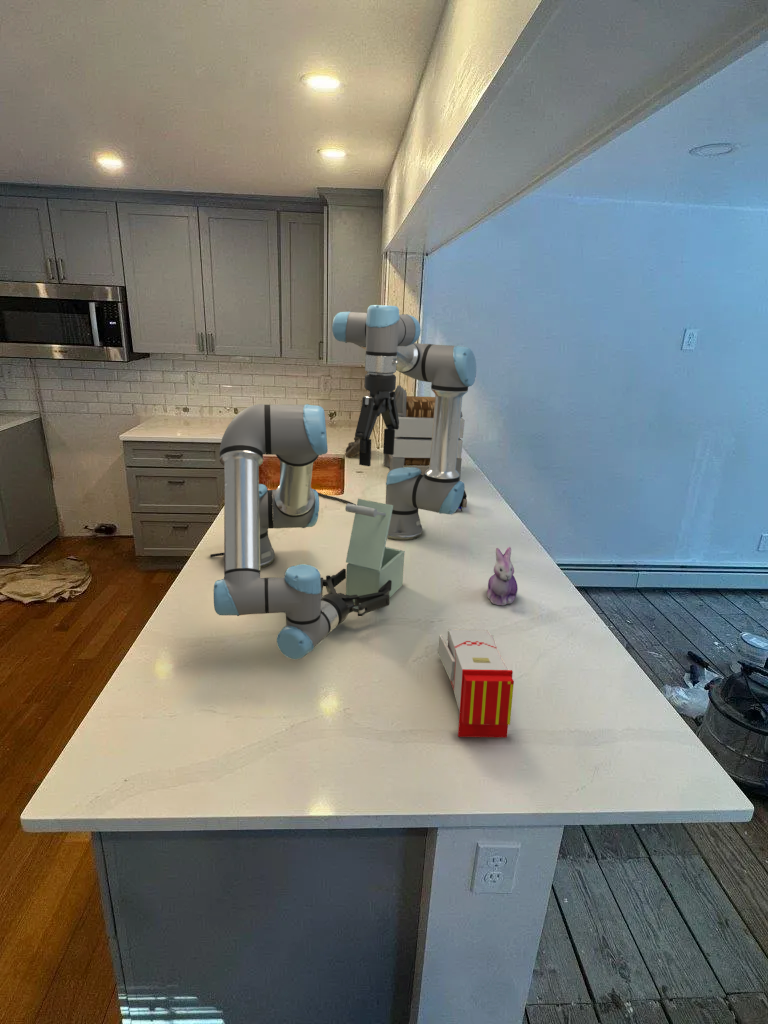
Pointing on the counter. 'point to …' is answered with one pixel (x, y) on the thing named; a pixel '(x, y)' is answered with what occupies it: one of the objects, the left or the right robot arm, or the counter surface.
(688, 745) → the counter surface
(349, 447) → the fossil
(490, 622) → the counter surface
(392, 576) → the chest
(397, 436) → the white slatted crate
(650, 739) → the counter surface
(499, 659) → the toy
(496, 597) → the figurine
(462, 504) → the figurine character
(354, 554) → the lid
